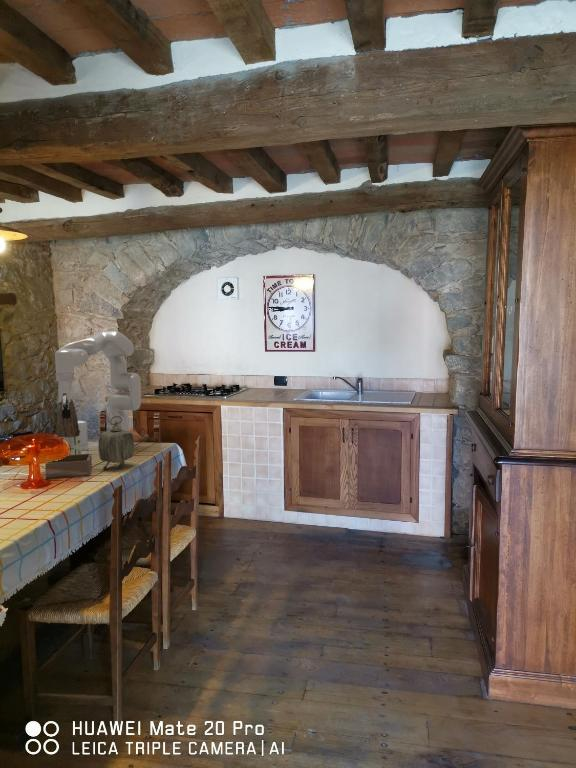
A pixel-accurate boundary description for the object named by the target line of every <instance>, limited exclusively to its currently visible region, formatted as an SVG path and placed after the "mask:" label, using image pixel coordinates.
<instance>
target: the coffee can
mask: <svg viewBox="0 0 576 768" xmlns="http://www.w3.org/2000/svg"><path fill="white" fill-rule="evenodd" d="M63 438H64V439H66V440H67V441H68V442H69V444H70V447H71V454H70V455H77V454H82V451H81V443H80V430H79V436H77V437H63Z"/></svg>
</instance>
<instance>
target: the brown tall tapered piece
mask: <svg viewBox="0 0 576 768" xmlns="http://www.w3.org/2000/svg"><path fill="white" fill-rule="evenodd" d="M66 398H67V397H66ZM66 402H68V401H66ZM67 406H68V404H67ZM69 409H70V418H65V419H63V418H62V402H60V403H59V402H58V408H57V416H56V417H57V418H56V437H57V438H59V437H77V436H79V426H78V421H79V420H78V417H77V411H76V407H75V403H74V401H73V398H72V399H71V402H70V403H69Z"/></svg>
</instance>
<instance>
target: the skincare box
mask: <svg viewBox="0 0 576 768" xmlns="http://www.w3.org/2000/svg"><path fill="white" fill-rule="evenodd" d="M78 426H79V430H80V443H81V452H83V451H86V450H87V451H88V449H89V444H88V442H89V441H88V423H87V421H85V420H84V421H83V420H78Z"/></svg>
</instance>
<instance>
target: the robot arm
mask: <svg viewBox="0 0 576 768" xmlns="http://www.w3.org/2000/svg"><path fill="white" fill-rule="evenodd" d="M134 351H135V348H134V343H133V342H132V341H131V340H130V339H129V338H128V337H127V336H126V335H125V334H123V333H122V332H120V331H117V330H99V331H98V332H95V333H93V334H92V335H90V336H88V337H87V338H85V339H80V340H78V341H77V340H76V341H73V342H70V343H67V344H66V345H63V346H62V347H60V348H58V349H57V350H56V351H55V352H54V357H55V359H54V363H55V378H56V382H58V386H57V387H58V388H57V390H58V404H59V403H60V402H62V418H63V419H65V418H70V409H69V403H70V402H71V399H72V400H73V381H75V367H74V366H82V365H84V364H86V363H87V362H88V361H89V356H94V355H97V354H98V353H99V352H102V353H103V355H104V356H105V357H106V358H107V360H108V362H109V368H110V369H109V370H110V372H109V373H110V387H111V388H112V389H113V390H117V392H111V393H110V394H109V395H108V397H107V406H108V411H109V421H110V420H111V418H112V417H114V416H120V417H121V418H122V422H121V423H120V424H118V426H120V427H121V428H122V430H125V431H130V425H129V415H128V414H127V412H126V411H137V410H139V409H140V407H141V404H142V380H141V377H140V375H139V373H137V372H131V371H130V372H128V367H127V365H128V364H127V361H126V359H125V357H130V356H132V355H133V354H134ZM118 391H129V392H118ZM66 397H67V398H66ZM66 401H68V402H66ZM67 404H68V406H67ZM120 421H121V419H120V418H119V417H116V418H113V419H112V420H111V423H112V424H115V422H117V423H119V422H120ZM109 424H110V423H109ZM113 426H115V425H111V424H110V428H109V429H111V428H112V427H113Z"/></svg>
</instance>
